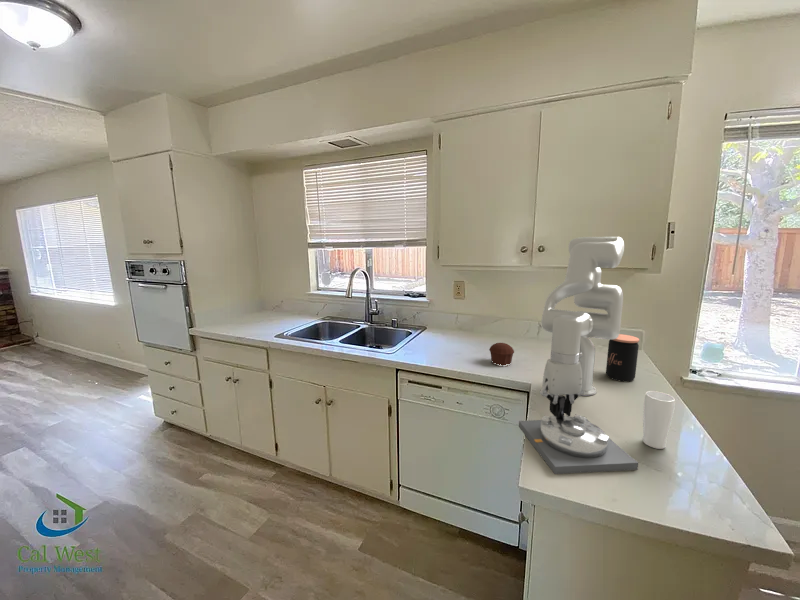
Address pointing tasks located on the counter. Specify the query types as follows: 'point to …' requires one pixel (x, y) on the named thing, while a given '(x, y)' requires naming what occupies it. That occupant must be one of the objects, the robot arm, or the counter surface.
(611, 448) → the gray square base plate
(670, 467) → the counter surface
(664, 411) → the drinking glass
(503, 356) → the muffin
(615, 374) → the coffee jar
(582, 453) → the round metal lid
